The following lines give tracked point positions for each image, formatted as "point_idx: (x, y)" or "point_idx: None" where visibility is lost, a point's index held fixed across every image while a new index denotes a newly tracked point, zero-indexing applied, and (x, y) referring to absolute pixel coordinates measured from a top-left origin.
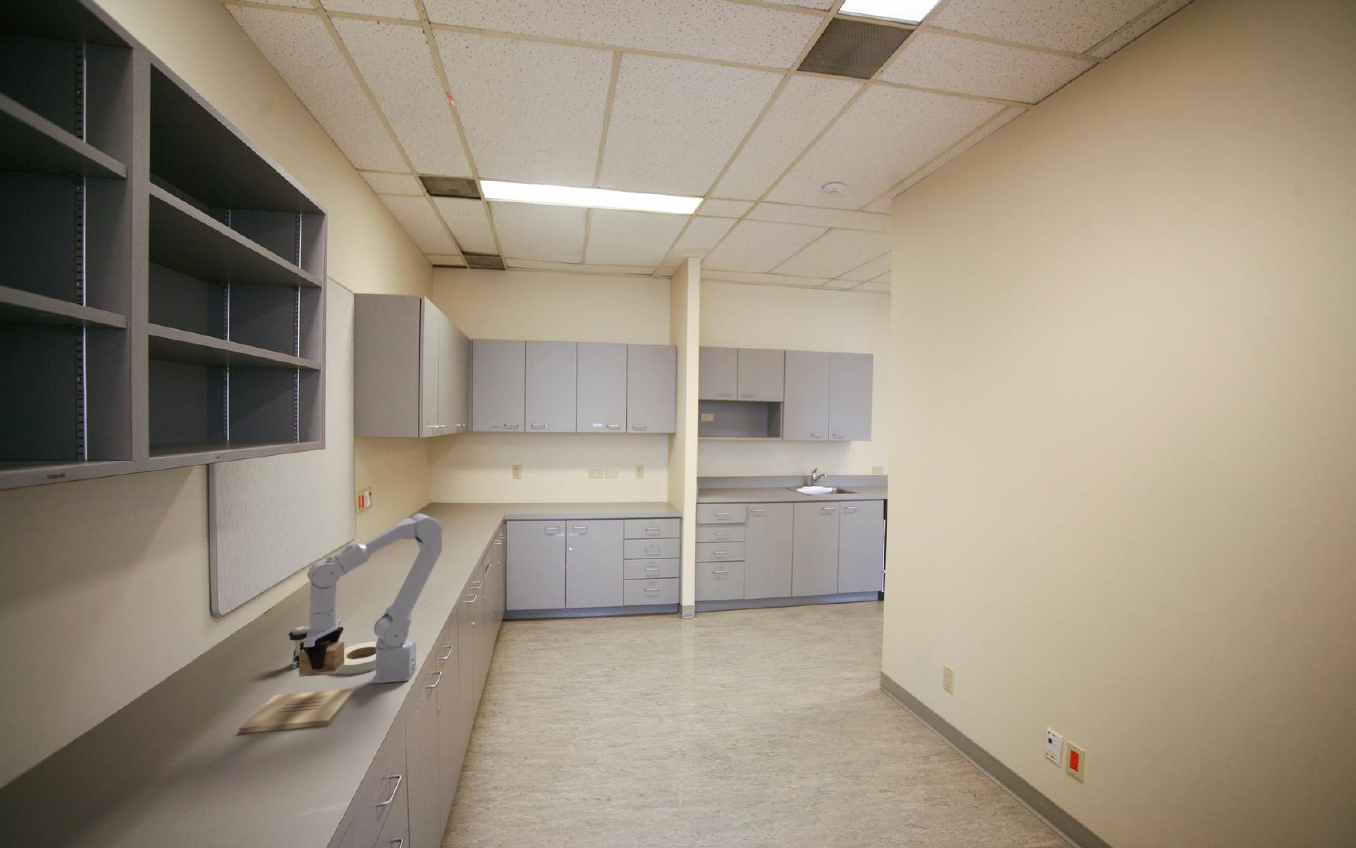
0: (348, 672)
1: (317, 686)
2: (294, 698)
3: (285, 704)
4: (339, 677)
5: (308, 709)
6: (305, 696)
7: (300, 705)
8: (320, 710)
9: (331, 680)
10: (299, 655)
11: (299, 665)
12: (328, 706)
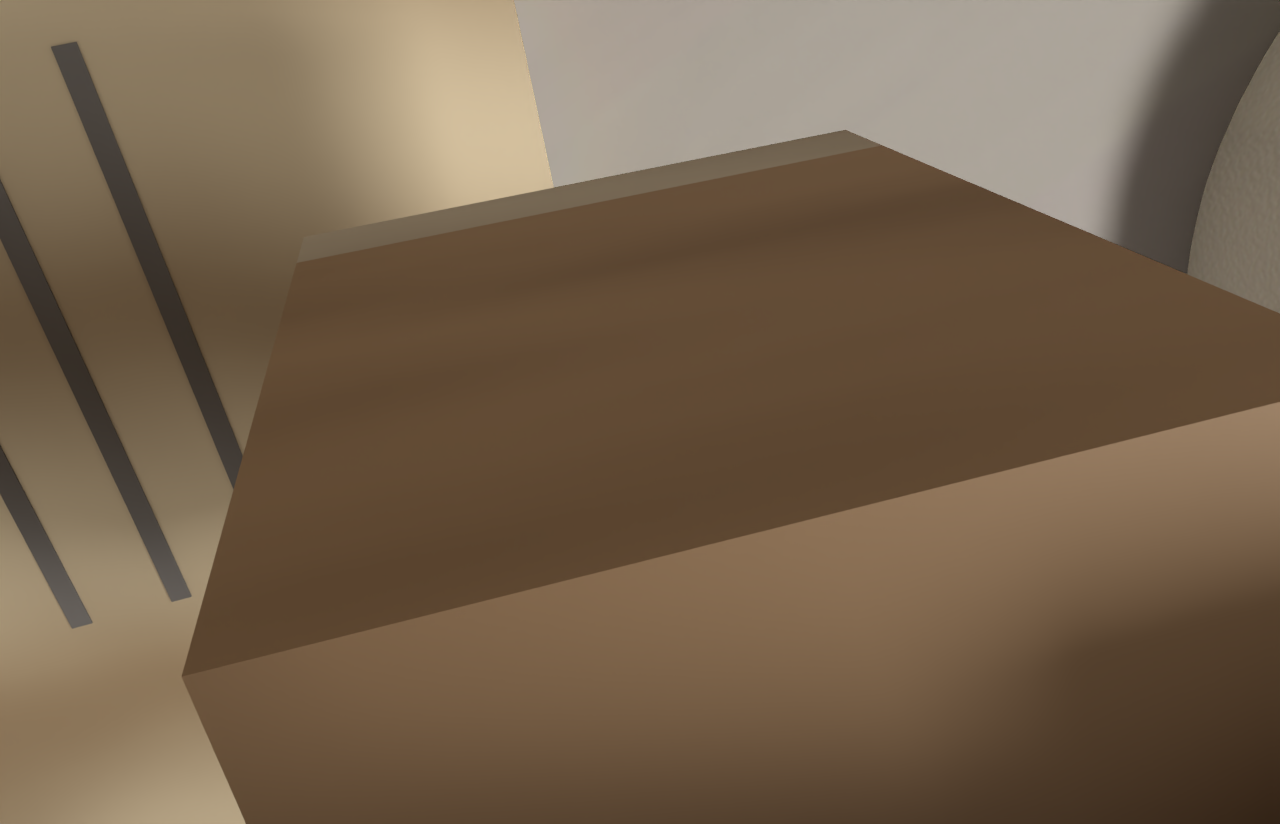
0: (1206, 260)
1: (877, 27)
2: (319, 40)
3: (86, 25)
4: (1114, 187)
5: (30, 540)
6: (411, 192)
7: (114, 330)
8: (54, 706)
9: (1041, 126)
10: (210, 593)
11: (281, 358)
12: (177, 728)
